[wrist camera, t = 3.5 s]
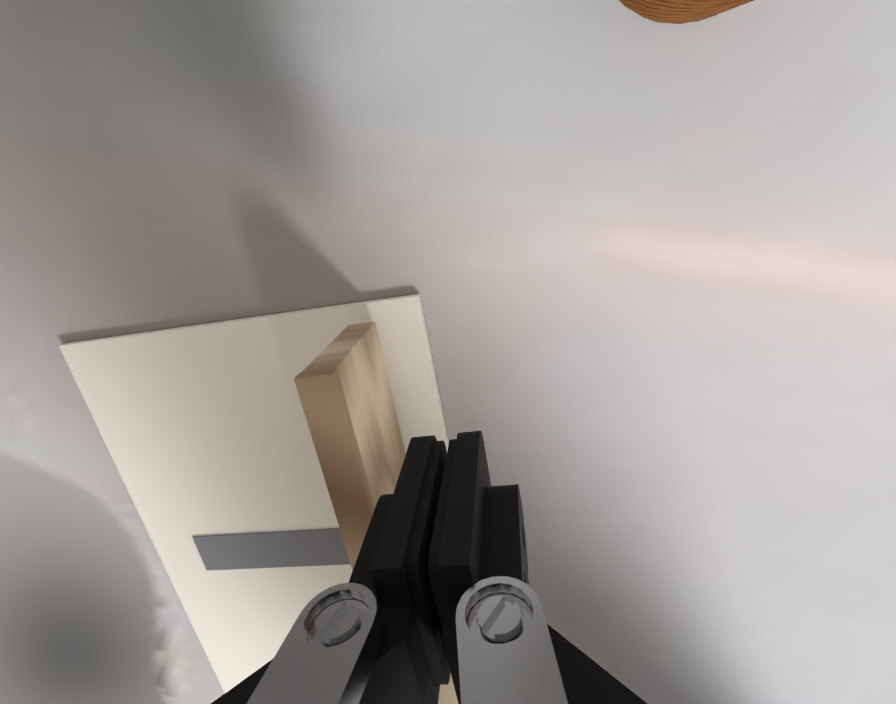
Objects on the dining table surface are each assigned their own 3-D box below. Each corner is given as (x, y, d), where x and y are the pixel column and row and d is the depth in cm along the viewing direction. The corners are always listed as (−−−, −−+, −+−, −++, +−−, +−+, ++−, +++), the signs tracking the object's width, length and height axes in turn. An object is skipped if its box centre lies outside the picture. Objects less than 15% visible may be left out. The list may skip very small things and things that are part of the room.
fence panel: (424, 529, 24) (401, 628, 19) (399, 531, 24) (370, 628, 19) (376, 321, 20) (331, 374, 15) (347, 325, 20) (293, 378, 15)
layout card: (501, 712, 30) (499, 862, 23) (239, 709, 33) (174, 841, 26) (419, 293, 21) (379, 351, 14) (65, 343, 24) (-99, 409, 17)
